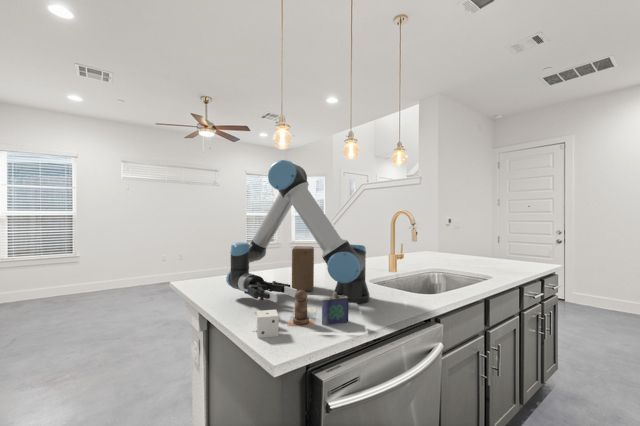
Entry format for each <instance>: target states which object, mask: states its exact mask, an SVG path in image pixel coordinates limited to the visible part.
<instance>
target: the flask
mask: <svg viewBox="0 0 640 426" xmlns="http://www.w3.org/2000/svg"><path fill="white" fill-rule="evenodd" d="M334 291H335V290H334ZM334 291H333V292H331V293H332V296H330V297H325V298H324V297H323V298H322V299H321V325H322V326H330V325H331V326H332V325H338V324H347V323H349V306H350V305H349V303H350V302H349V298H348V297H347V296H343V295H340V296H338V295H337V294H336V291H335V292H334Z"/></svg>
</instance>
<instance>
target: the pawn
mask: <svg viewBox="0 0 640 426" xmlns="http://www.w3.org/2000/svg"><path fill="white" fill-rule="evenodd" d="M294 299H295V300H294V307H295V312H294V313H295V317H293V324H295V325H306V324H308V323H309V317H308V316H307V307H308V293H307V291H304V290H299V291H297V292H296V294H295V297H294Z"/></svg>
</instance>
